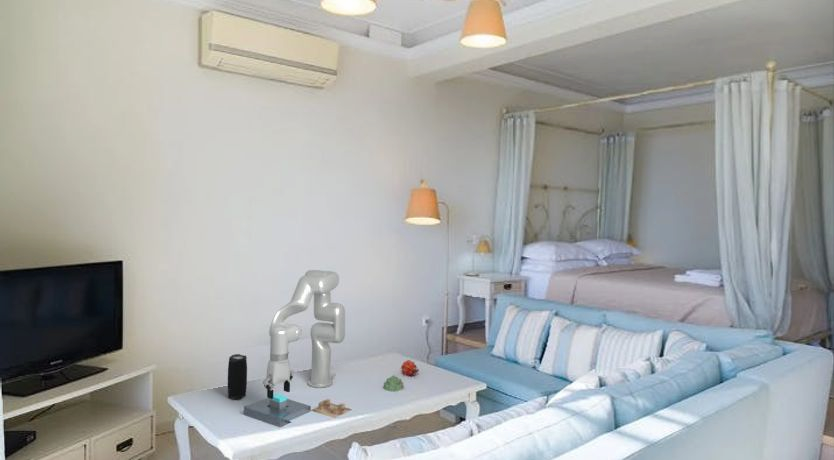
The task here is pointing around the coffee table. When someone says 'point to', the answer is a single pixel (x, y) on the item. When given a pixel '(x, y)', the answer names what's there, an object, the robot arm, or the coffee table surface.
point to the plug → (278, 402)
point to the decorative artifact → (393, 384)
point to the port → (276, 412)
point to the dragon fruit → (409, 368)
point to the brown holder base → (331, 409)
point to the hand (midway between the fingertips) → (278, 394)
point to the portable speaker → (237, 376)
